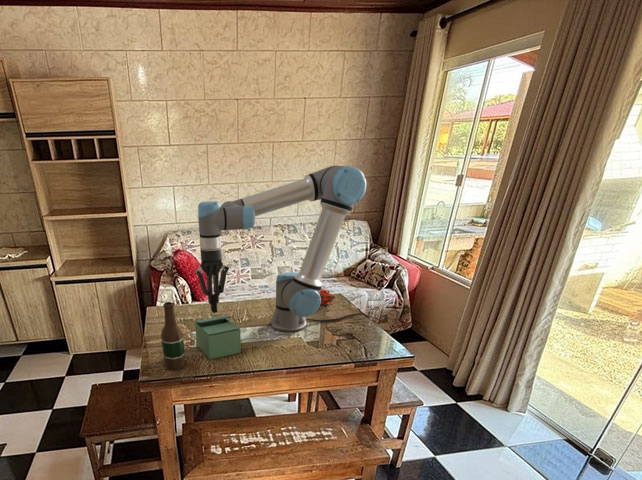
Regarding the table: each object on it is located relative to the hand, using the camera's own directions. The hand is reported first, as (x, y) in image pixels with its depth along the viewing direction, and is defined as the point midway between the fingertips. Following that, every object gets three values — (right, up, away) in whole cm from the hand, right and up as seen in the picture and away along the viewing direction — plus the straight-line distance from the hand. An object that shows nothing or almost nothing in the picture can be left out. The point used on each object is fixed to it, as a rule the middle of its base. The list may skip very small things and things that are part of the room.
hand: (214, 311), depth 156 cm
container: (+1, -14, +6) cm, 15 cm away
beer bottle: (-14, -21, -5) cm, 26 cm away
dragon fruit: (+52, +11, +46) cm, 71 cm away
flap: (-1, -3, +4) cm, 4 cm away
